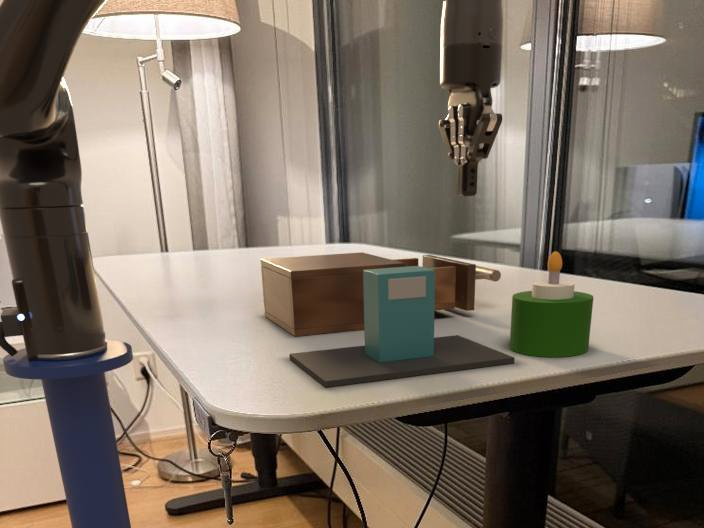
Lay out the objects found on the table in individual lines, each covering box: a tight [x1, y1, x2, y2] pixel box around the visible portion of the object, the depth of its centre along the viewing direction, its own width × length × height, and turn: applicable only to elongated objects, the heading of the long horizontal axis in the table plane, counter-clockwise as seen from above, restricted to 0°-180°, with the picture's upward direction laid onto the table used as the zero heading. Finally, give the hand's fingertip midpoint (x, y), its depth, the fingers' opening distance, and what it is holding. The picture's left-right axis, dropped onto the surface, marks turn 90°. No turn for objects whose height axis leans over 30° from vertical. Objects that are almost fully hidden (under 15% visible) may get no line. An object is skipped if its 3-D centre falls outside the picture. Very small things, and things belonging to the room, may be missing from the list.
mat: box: [289, 334, 515, 388], centre depth 74 cm, size 20×12×1 cm, turn 111°
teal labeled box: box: [363, 265, 435, 363], centre depth 72 cm, size 6×4×8 cm
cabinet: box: [260, 252, 405, 337], centre depth 94 cm, size 15×15×8 cm
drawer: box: [393, 254, 502, 312], centre depth 98 cm, size 19×13×6 cm
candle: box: [509, 250, 594, 358], centre depth 76 cm, size 8×8×10 cm
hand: (466, 195), depth 96 cm, fingers closed
